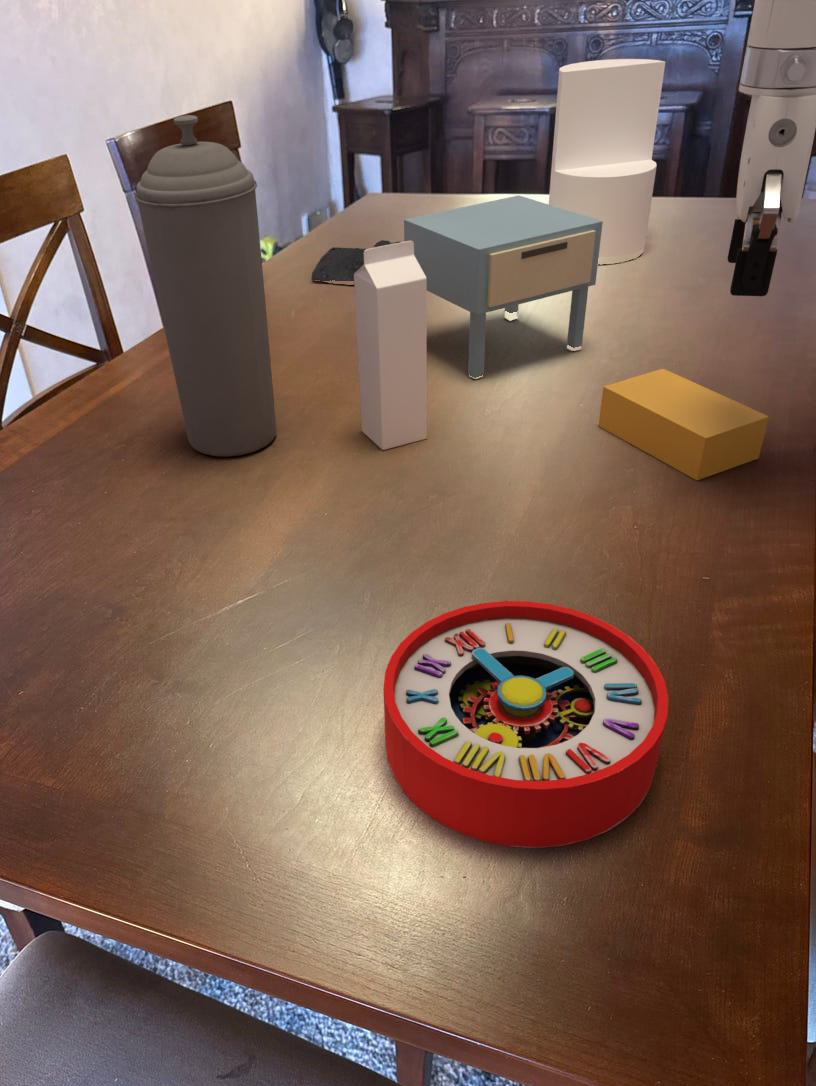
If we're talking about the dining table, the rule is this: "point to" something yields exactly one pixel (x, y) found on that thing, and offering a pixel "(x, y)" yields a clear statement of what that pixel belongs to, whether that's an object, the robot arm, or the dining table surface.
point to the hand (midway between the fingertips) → (745, 277)
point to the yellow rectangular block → (682, 423)
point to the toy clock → (523, 722)
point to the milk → (392, 345)
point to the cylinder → (607, 147)
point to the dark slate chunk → (341, 263)
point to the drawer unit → (506, 260)
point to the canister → (210, 291)
